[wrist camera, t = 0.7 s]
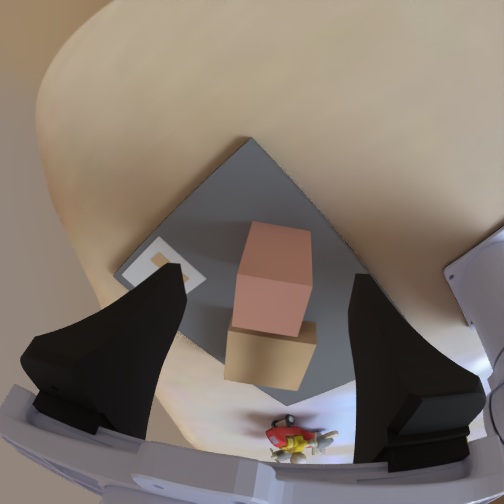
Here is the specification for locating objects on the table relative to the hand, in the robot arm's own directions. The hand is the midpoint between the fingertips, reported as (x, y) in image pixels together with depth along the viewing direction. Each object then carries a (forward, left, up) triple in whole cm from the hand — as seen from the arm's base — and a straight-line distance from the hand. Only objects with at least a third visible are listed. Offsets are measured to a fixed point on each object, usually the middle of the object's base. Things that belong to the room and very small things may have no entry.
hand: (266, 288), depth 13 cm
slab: (-10, +10, -9) cm, 17 cm away
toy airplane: (-27, +19, -10) cm, 34 cm away
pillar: (-3, +3, -9) cm, 10 cm away
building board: (-8, +7, -10) cm, 15 cm away
